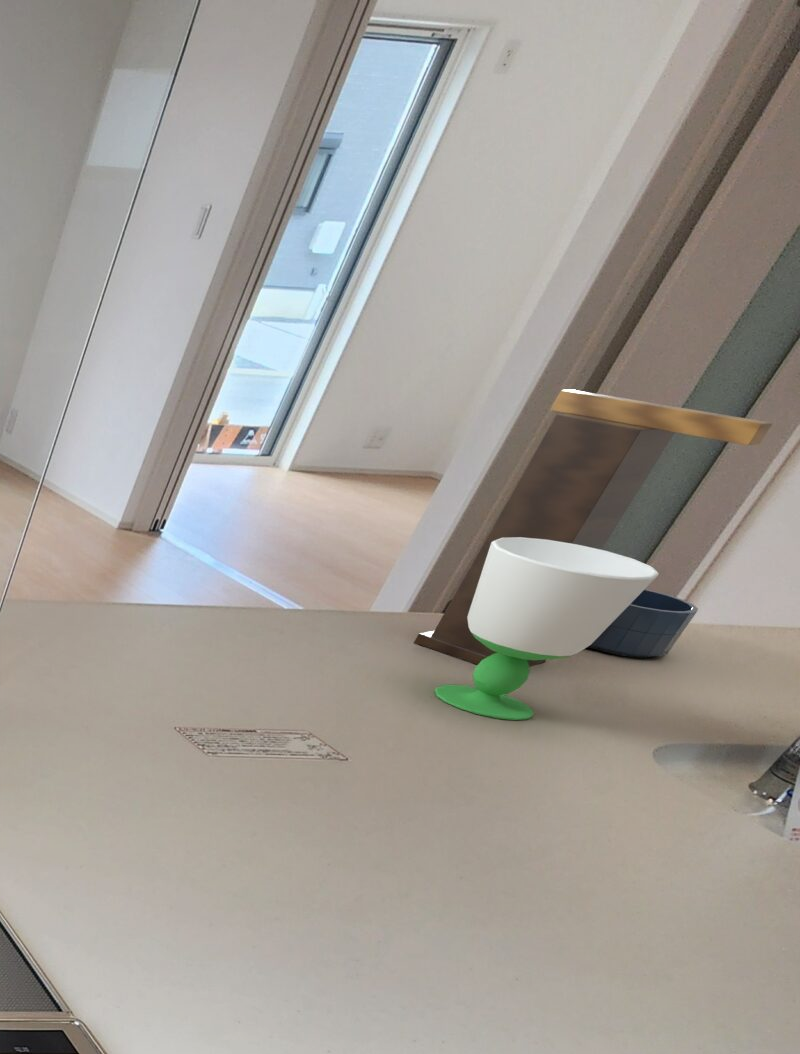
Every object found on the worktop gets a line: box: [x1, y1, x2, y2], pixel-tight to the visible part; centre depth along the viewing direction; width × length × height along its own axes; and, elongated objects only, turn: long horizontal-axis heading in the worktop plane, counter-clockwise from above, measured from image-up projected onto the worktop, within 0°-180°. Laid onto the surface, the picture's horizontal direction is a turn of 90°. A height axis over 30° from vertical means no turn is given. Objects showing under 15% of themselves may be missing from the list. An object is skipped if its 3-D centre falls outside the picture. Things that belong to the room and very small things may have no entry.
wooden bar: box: [550, 389, 774, 446], centre depth 116 cm, size 18×2×2 cm, turn 26°
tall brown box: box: [413, 413, 676, 667], centre depth 126 cm, size 10×10×26 cm
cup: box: [434, 537, 659, 721], centre depth 115 cm, size 14×14×16 cm
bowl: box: [587, 588, 699, 659], centre depth 138 cm, size 11×11×6 cm
